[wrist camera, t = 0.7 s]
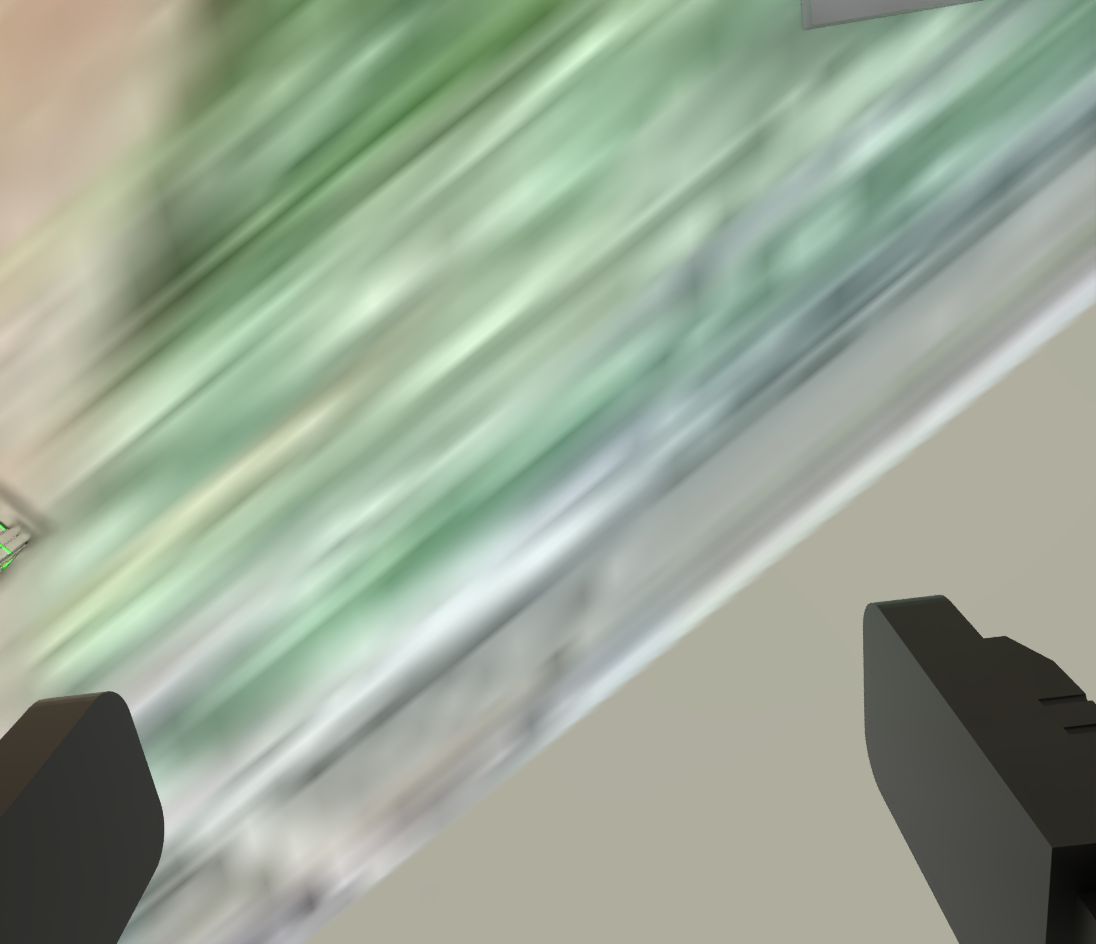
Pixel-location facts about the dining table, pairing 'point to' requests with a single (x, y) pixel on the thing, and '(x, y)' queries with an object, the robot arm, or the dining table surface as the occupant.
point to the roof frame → (10, 556)
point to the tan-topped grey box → (863, 10)
